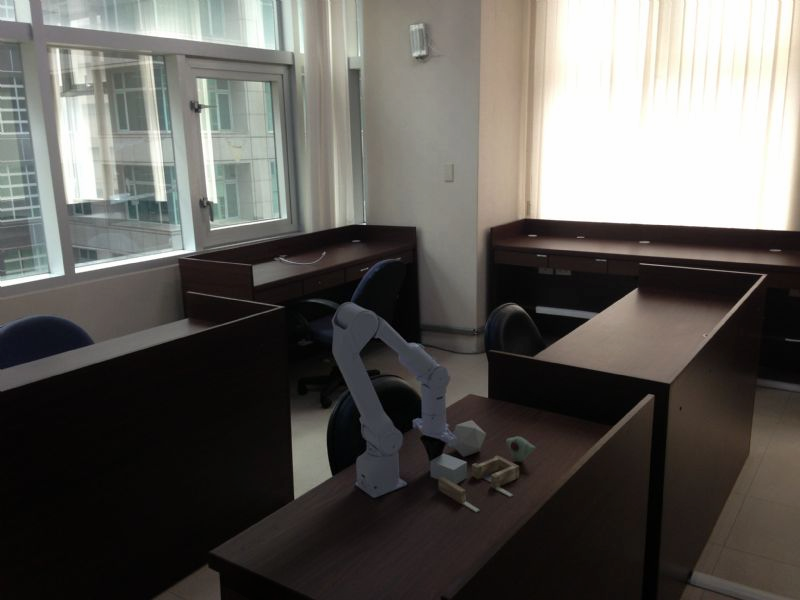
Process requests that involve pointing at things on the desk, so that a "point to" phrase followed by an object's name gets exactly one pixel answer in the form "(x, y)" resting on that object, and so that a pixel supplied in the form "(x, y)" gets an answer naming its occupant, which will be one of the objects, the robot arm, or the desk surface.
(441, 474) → the grey block
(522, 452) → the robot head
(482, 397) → the desk surface
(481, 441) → the die
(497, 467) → the channel
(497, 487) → the rails
